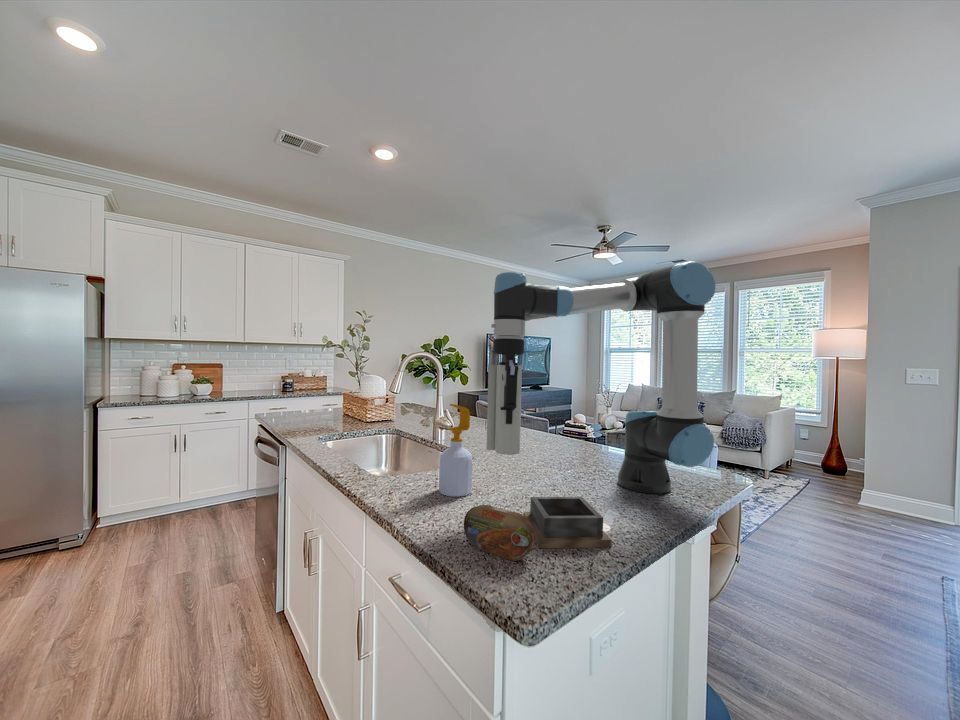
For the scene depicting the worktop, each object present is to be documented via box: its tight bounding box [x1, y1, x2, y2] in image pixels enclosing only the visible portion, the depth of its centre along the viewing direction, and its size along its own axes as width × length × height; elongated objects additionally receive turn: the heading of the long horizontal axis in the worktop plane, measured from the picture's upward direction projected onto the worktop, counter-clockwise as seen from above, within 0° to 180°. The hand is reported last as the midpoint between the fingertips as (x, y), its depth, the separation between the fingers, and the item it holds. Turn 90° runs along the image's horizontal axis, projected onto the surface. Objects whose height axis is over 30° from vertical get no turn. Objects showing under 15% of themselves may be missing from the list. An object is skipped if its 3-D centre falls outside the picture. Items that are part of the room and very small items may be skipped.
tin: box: [463, 504, 536, 562], centre depth 78 cm, size 15×3×8 cm, turn 56°
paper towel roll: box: [486, 363, 523, 456], centre depth 97 cm, size 7×6×21 cm
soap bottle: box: [438, 403, 473, 498], centre depth 112 cm, size 9×9×25 cm
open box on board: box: [523, 496, 612, 549], centre depth 88 cm, size 15×15×6 cm
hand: (506, 435), depth 96 cm, fingers closed on paper towel roll, 3 cm apart
